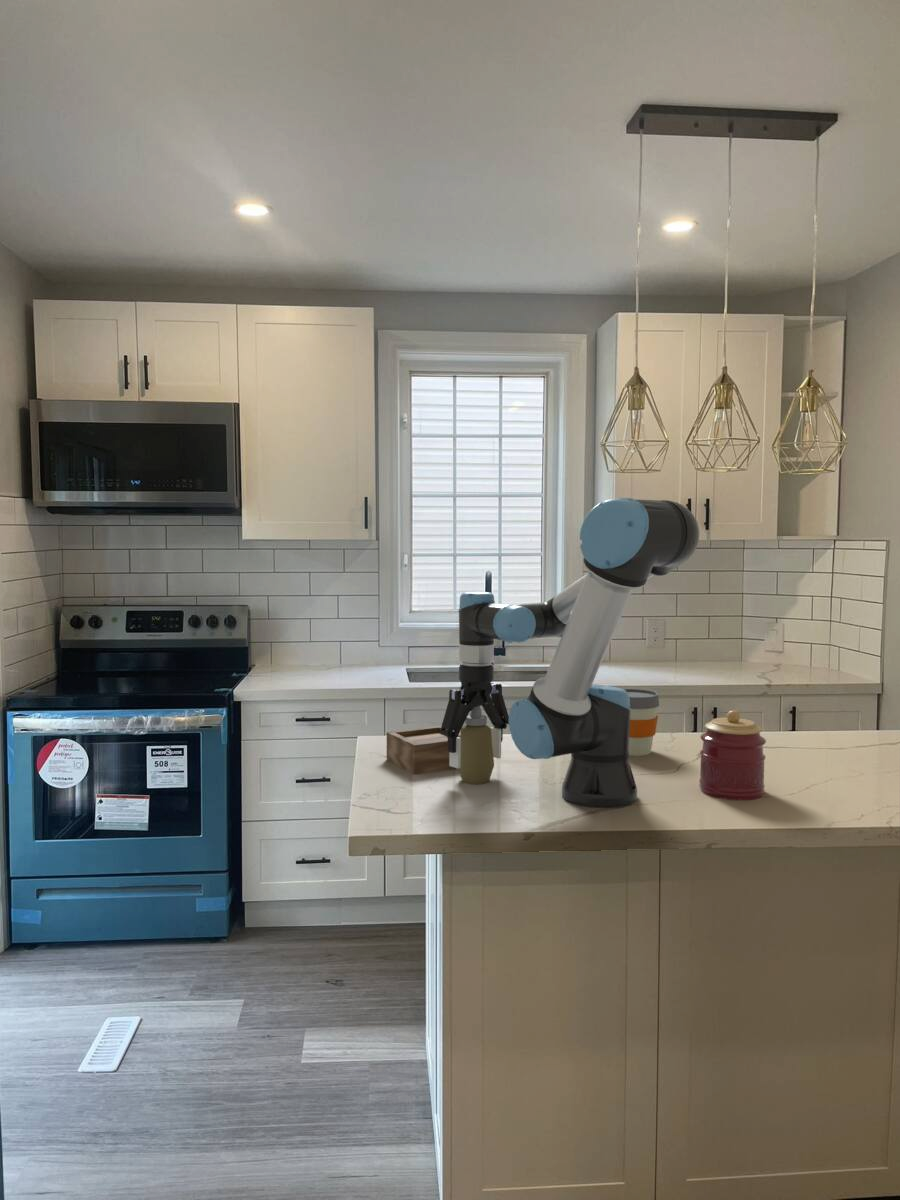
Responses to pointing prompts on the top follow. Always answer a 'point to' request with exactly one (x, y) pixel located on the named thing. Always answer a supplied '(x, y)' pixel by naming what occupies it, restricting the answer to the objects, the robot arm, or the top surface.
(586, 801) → the robot arm
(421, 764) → the walnut tray
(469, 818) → the top surface
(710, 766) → the canister
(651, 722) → the reusable coffee cup
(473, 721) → the squeeze bottle
